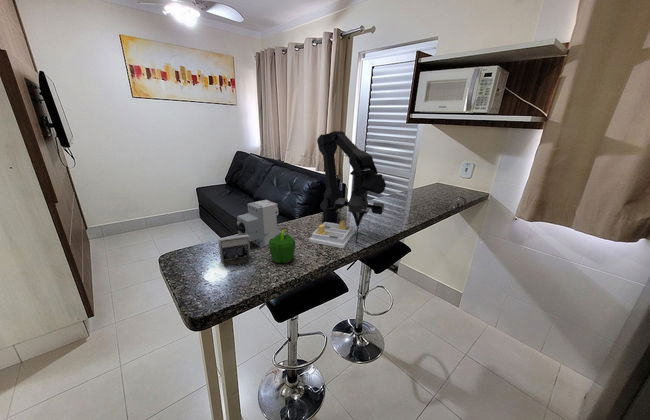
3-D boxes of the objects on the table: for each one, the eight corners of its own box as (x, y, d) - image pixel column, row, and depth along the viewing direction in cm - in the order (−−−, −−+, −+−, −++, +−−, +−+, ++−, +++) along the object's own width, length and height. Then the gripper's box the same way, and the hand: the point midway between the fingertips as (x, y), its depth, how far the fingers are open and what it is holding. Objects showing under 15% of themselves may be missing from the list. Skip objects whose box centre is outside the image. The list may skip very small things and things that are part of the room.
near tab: (316, 236, 98) (316, 226, 97) (319, 234, 101) (319, 223, 99) (323, 238, 97) (323, 227, 96) (326, 235, 100) (326, 225, 98)
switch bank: (309, 241, 97) (309, 234, 96) (324, 227, 111) (324, 220, 110) (343, 248, 92) (344, 240, 91) (354, 232, 106) (355, 225, 105)
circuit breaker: (235, 245, 92) (231, 206, 88) (268, 234, 102) (266, 199, 97) (245, 252, 87) (242, 212, 83) (279, 240, 97) (278, 203, 92)
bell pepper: (286, 269, 78) (285, 239, 75) (265, 262, 82) (263, 234, 79) (300, 257, 85) (300, 230, 82) (280, 251, 89) (279, 225, 86)
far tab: (337, 231, 103) (337, 221, 102) (339, 229, 106) (340, 219, 104) (344, 233, 102) (344, 223, 101) (346, 230, 105) (347, 220, 103)
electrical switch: (250, 255, 86) (248, 231, 82) (252, 264, 81) (250, 239, 78) (220, 260, 82) (217, 236, 78) (221, 270, 78) (218, 244, 74)
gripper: (330, 190, 92) (328, 229, 97) (381, 196, 85) (377, 237, 90) (339, 184, 102) (338, 220, 107) (386, 189, 95) (382, 227, 100)
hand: (357, 226), depth 101 cm, fingers closed
